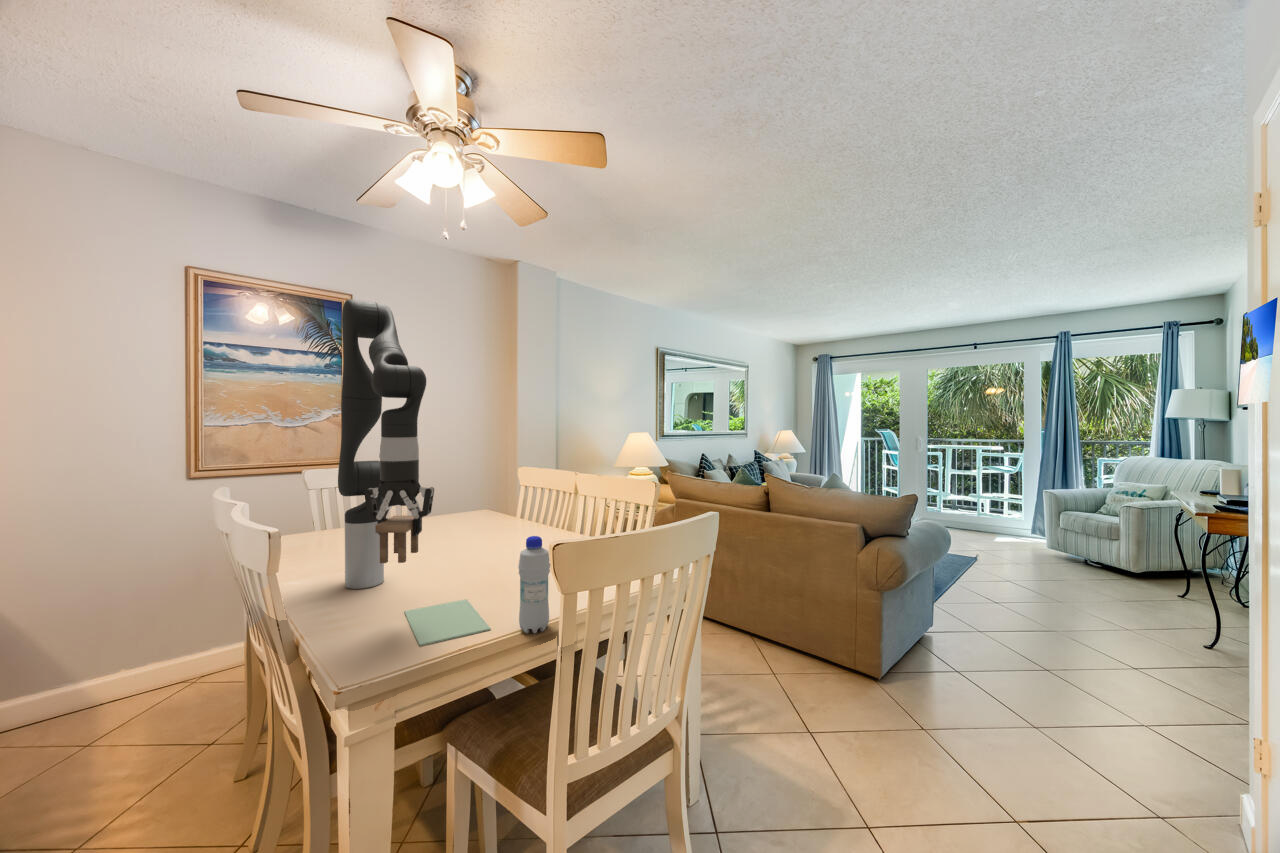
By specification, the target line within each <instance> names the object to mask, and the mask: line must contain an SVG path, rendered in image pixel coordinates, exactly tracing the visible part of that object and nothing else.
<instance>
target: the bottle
mask: <svg viewBox="0 0 1280 853" xmlns="http://www.w3.org/2000/svg"><path fill="white" fill-rule="evenodd" d="M525 540H526V541H525V549H523V550H521V551H520V553H519V561H518V566H517V567H518V574H519V577H520V580H519V588H520V589H519V593H520V594H519V612H518V623H519V627H520V630H522V631H523V632H524V633H526V634H529V633H530V630H531V631H532V633H533V634H537V633H538V630H539V631H540V633H542V632H544V631H545V630H546V628H547V627H548V625H549V622H550V607H549V574H550V572H551V569H550V568H551V562H550V563H549V561H550V553H549V550H548V549H546V548H544V547H543V539H542V537H540V536H538V535H532V536H528V537H527V538H526V539H525Z"/></svg>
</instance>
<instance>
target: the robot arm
mask: <svg viewBox="0 0 1280 853" xmlns="http://www.w3.org/2000/svg"><path fill="white" fill-rule="evenodd" d="M341 328H342V329H341V330H342V332H341V333H342V334H341V335H342V355H343V358H342V361H343V362H342V363H343V366H342V384H341V399H340V400H341V401H340V402H341V403H340V409H341V410H340V411H341V414H340V415H341V416H340V417H341V423H340V424H341V425H340V426H341V432H340V433H341V437H340V438H341V440H340V449H339V462H338V472H337V473H338V474H337V487H338V492H339V494H340V495H341V496H343V497H358V496H361V497H362V496H364V502H362V503H360V504H359V505H357V506H354V507H352V508H349V509H348V510H346V511H345V513H344V587H345V588H347V589H352V590H358V589H367V588H372V587H376V586H379V585H381V584H382V583H384V581H385V575H384V574H385V571H384V568H385V563H380V533H375V525H377V524H379V523H381V522H383V521H385V520H387V519H389V518H387V516H388V513H389V511H390V510H391V509H392V507H396V506H401V507H404V506H406V508H407V509H408V511H409V512H410V514H411V516H413V518H414V519H413V520H412V521H413V529H412V531H413V536H418V537H419V535H420V534H421V533H422V531H423V518H424V517H427V516H429V515H430V514H431V513H432V508H433V501H434V495H435V494H434V493H435V488H434V487H433V486H430V487H423V486H421V484H420V482H419V479H420V477H419V476H420V474H419V473H420V460H419V459H420V457H419V456H420V453H419V452H420V450H419V441H418V439H419V438H418V419H419V418H418V417H419V411H420V408H421V404H422V400H423V397H424V394H425V391H426V387H427V376H426V373H425V372H424V371H423V369H422V368H421V367H419V366H415V365H409V362H408V358H407V357H406V355H405V353H404V351H403V349H402V347H401V345H400V341H399V336H398V332H397V330H398V329H397V326H396V322H395V317H394V314H393V312H392V310H391V307H389V306H388V305H387V304H385V303H380V302H376V301H375V302H374V301H367V300H361V299H353V298H352V299H350V298H349V299H347V300H345V301H344V303H343V305H342V312H341ZM359 338H363V339H371V342H370V344H369V346H368V355H369V356H368V357H369V359H370V361H371V364H372V366H373V371H372V370H371V369H370V367H369V366H368V364H367V362H366V361H365V358H364V357H363V354H362V353H361V349H360V344H359ZM383 398H387V399H389V398H393V399H406V400H405V403H404V404H403V405H401V406H400V407H396V408H391V409H386V410H384V411H383V412H382V408H383V407H382V406H383ZM380 418H381V419H380ZM379 419H380V445H379V456H378V457H379V460H359V461H357V460H356V461H355V459H356V455H357V452H358V450H359V447H360V445H362V442H363V440H364V439H365V438H366V437H367V436H368V434H369V433H370V432H371V431H372V429H373V428H374V427H375V425H376V424H377V423H378V421H379ZM420 493H421V496H422V498H423V502H422V503H423V504H422V510H421V508H420V504H419V502H418V500H417V496H419V494H420Z"/></svg>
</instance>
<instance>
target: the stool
mask: <svg viewBox="0 0 1280 853" xmlns="http://www.w3.org/2000/svg"><path fill="white" fill-rule="evenodd" d="M413 519H414V518H413V516H412V515H393V516H391V517H389V518H388V519H387V520H385V521H383V522H381V523H379V524H377V525H375V533H380V563H384V564H387V563H388V562H389V534H391V533H392V534H393V554H397V563H398V564H404V563H406V562H407V532H409V531H410V554H417V553H418V552H419V535H418V536H413V531H412V529H413V521H412V520H413Z"/></svg>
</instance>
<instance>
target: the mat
mask: <svg viewBox="0 0 1280 853" xmlns="http://www.w3.org/2000/svg"><path fill="white" fill-rule="evenodd" d="M403 612H404V615H405V617H407V618H406V619H407V621H408V623H409V626H410V628H411V631H412V633H413V634H414V637H415V639H416V642H417V643H418V646H419V647H423V646H427V645H431V644H436V643H441V642H444V641H445V642H446V641H449V640H454V639H457V638H462V637H466V636H470V635H474V634H479V633H484V631H485V632H488V631H491V627H490V626H489V624H488V623H487V622H486V621H485V619H484V618H483V617H482V616H481V615H480V614H479V612H478V611H477V610H476V609H475V607H474V606H473V605H472V604H471V603H470V602H469V600H468V599H461V600H455V601H451V602H445V603H440V604H435V605H434V604H433V605H428V606H423V607H419V608H413V609H408V610H404V611H403Z"/></svg>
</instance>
